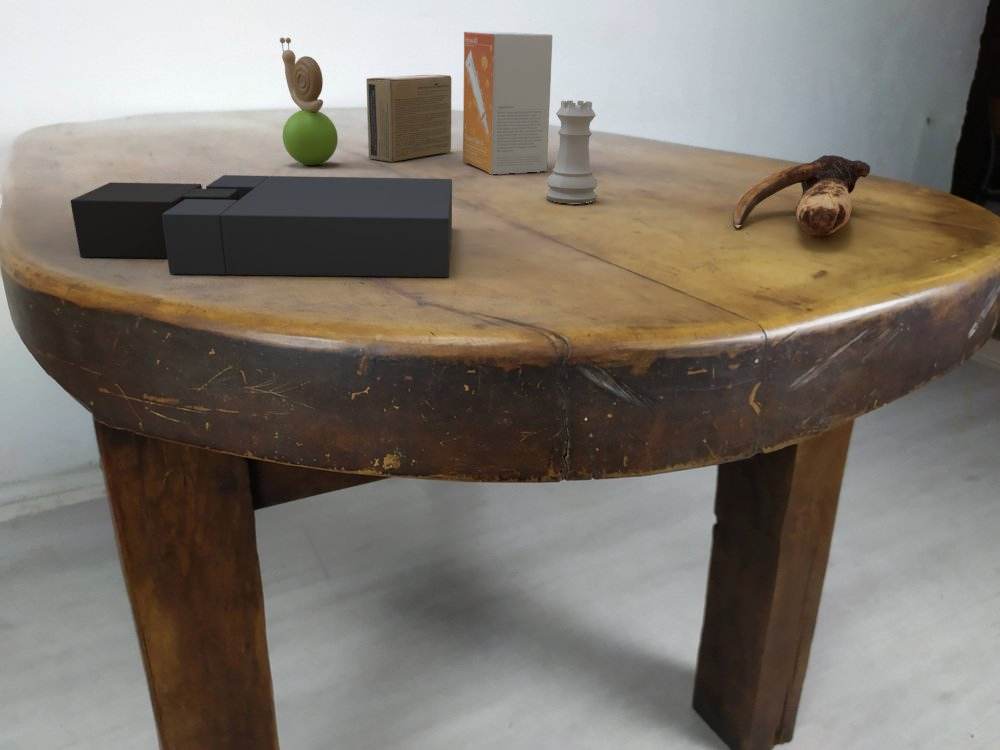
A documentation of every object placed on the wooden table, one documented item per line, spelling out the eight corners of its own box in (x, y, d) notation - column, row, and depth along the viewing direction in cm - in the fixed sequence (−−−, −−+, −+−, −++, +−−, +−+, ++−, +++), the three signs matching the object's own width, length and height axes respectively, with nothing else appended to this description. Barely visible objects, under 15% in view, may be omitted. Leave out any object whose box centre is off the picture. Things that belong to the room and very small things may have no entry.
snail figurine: (314, 158, 89) (307, 37, 85) (349, 165, 85) (343, 39, 80) (269, 162, 86) (259, 37, 81) (303, 170, 82) (294, 39, 77)
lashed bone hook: (749, 203, 74) (718, 241, 58) (755, 148, 72) (725, 172, 57) (863, 209, 70) (862, 252, 55) (872, 152, 69) (874, 179, 53)
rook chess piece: (582, 207, 68) (589, 105, 65) (535, 200, 70) (539, 101, 67) (606, 199, 72) (613, 102, 69) (560, 193, 74) (565, 98, 71)
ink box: (427, 149, 97) (427, 73, 94) (453, 153, 95) (453, 75, 92) (366, 159, 90) (363, 76, 86) (392, 163, 88) (390, 78, 84)
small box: (461, 162, 89) (462, 30, 84) (516, 160, 91) (520, 31, 86) (490, 175, 82) (493, 32, 77) (548, 172, 84) (555, 33, 79)
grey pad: (169, 274, 48) (161, 213, 46) (228, 224, 60) (223, 174, 58) (448, 277, 48) (448, 217, 47) (451, 227, 60) (451, 178, 59)
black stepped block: (79, 257, 51) (69, 199, 49) (117, 234, 56) (109, 182, 55) (226, 259, 51) (220, 202, 50) (249, 236, 56) (244, 184, 55)
